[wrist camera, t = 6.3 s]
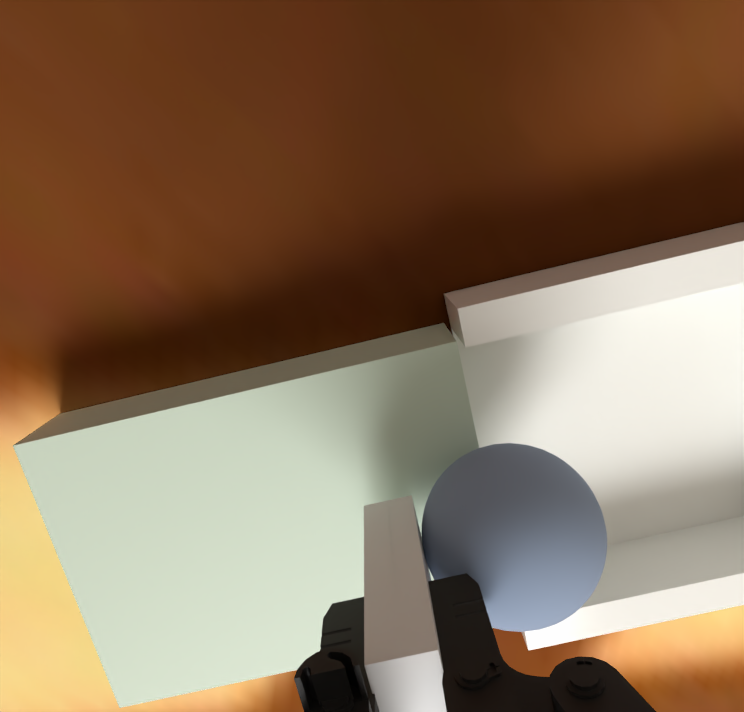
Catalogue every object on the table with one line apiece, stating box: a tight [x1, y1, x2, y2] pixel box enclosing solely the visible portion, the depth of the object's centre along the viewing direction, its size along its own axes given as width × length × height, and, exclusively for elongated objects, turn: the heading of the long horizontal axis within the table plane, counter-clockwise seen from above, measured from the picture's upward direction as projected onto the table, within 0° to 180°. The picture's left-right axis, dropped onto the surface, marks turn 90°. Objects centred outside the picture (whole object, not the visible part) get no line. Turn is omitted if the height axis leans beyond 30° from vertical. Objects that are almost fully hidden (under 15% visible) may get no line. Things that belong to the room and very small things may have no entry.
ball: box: [421, 443, 607, 632], centre depth 17 cm, size 5×5×5 cm
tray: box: [444, 222, 744, 650], centre depth 21 cm, size 12×11×3 cm
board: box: [13, 323, 493, 708], centre depth 21 cm, size 10×14×3 cm
